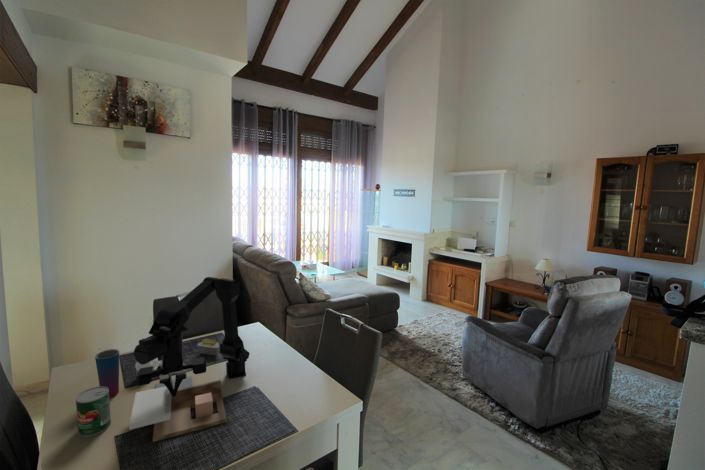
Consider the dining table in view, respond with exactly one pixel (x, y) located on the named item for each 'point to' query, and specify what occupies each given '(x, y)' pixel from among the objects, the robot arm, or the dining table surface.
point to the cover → (150, 407)
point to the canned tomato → (93, 411)
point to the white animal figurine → (149, 364)
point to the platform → (209, 347)
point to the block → (203, 405)
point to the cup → (108, 370)
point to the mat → (184, 383)
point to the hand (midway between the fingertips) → (174, 395)
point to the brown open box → (182, 414)
